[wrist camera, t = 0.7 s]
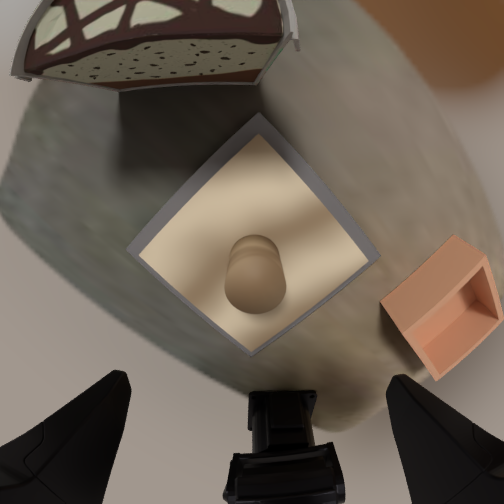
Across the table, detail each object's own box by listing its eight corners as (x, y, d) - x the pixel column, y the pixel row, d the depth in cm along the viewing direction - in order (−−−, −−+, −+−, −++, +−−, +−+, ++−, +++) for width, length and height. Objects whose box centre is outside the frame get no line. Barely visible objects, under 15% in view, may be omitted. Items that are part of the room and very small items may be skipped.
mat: (378, 252, 21) (381, 255, 20) (250, 352, 24) (250, 357, 23) (258, 112, 17) (259, 111, 16) (128, 246, 20) (125, 249, 20)
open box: (478, 295, 22) (504, 319, 18) (416, 351, 24) (436, 381, 20) (453, 234, 20) (485, 254, 16) (379, 301, 22) (401, 333, 18)
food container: (283, 8, 14) (307, -80, 5) (280, 86, 16) (310, 34, 7) (109, 20, 14) (30, -30, 5) (100, 95, 16) (1, 78, 7)
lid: (363, 255, 20) (392, 288, 15) (251, 344, 23) (251, 389, 18) (258, 133, 17) (260, 130, 12) (143, 249, 20) (115, 282, 15)
